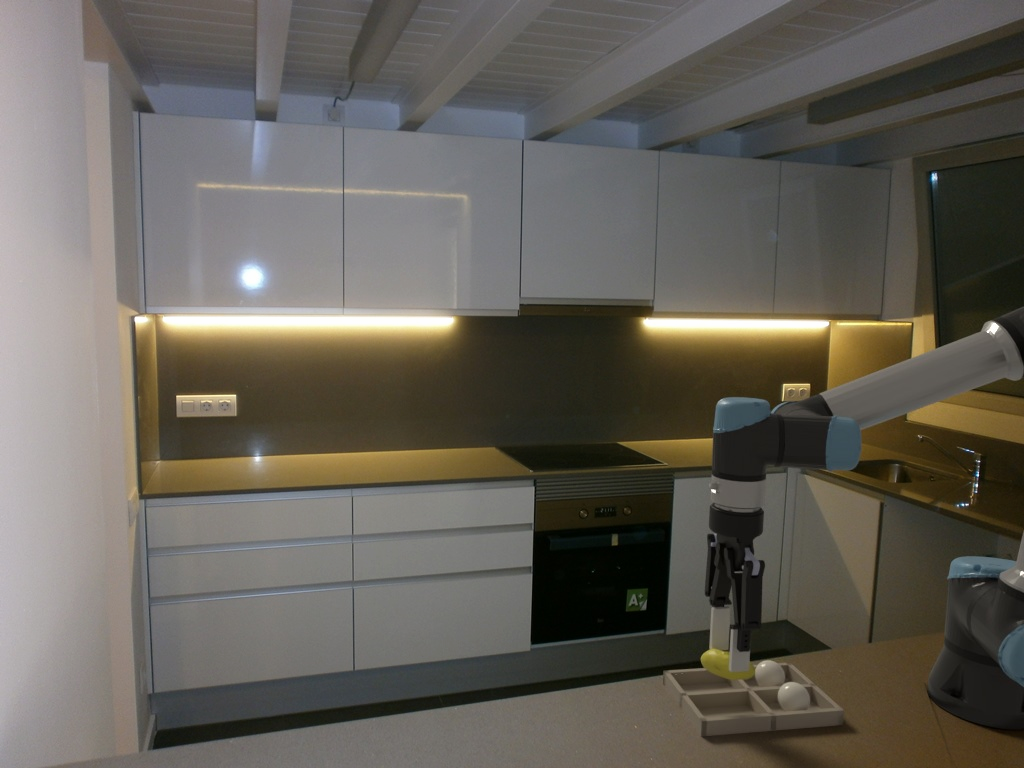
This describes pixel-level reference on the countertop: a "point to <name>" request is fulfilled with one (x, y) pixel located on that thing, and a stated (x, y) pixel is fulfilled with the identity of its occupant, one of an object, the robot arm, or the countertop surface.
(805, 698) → the egg back left
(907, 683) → the countertop surface
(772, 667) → the egg back right
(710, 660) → the yellow oval piece
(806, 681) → the divided tray
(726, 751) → the countertop surface
